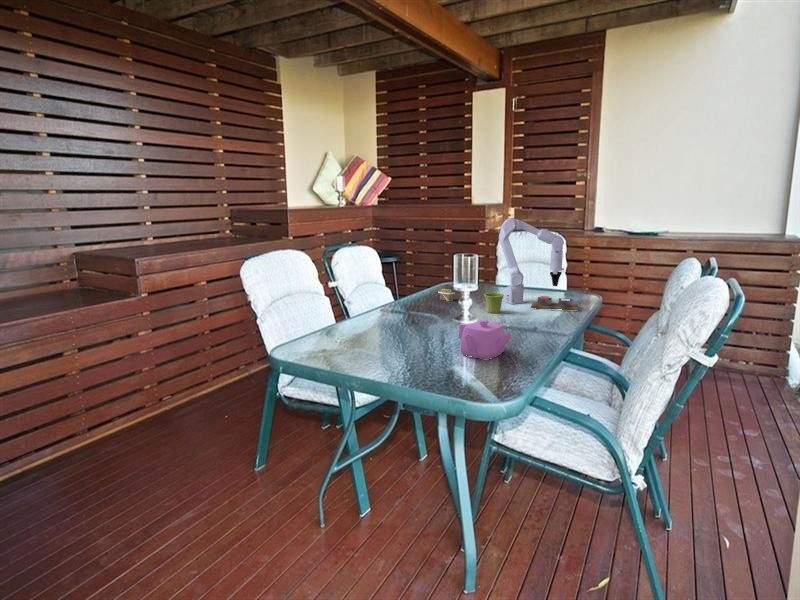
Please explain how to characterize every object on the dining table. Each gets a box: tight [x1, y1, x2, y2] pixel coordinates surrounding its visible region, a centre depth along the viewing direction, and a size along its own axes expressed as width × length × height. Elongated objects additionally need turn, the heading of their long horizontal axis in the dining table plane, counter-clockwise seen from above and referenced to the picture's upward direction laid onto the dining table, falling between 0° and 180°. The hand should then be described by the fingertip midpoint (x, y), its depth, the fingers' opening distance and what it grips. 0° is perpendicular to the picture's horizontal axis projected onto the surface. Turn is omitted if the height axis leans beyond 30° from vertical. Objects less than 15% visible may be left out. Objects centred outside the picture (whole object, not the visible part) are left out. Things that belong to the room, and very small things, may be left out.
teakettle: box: [458, 319, 513, 359], centre depth 181 cm, size 17×17×12 cm
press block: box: [530, 296, 579, 311], centre depth 251 cm, size 22×11×4 cm, turn 71°
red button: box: [539, 295, 550, 300], centre depth 253 cm, size 4×4×3 cm
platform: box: [437, 288, 456, 302], centre depth 271 cm, size 12×18×7 cm, turn 53°
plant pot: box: [484, 292, 505, 314], centre depth 243 cm, size 9×9×9 cm
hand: (555, 286), depth 259 cm, fingers closed
